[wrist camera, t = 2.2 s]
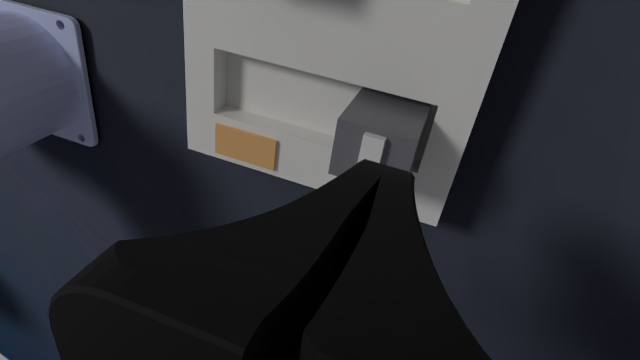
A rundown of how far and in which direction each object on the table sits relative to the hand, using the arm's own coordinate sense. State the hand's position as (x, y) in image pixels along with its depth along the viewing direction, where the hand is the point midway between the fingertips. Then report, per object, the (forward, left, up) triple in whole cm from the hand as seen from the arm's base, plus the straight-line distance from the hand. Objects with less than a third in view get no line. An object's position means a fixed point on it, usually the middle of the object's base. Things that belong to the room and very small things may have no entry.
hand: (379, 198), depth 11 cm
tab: (-1, -2, -9) cm, 9 cm away
